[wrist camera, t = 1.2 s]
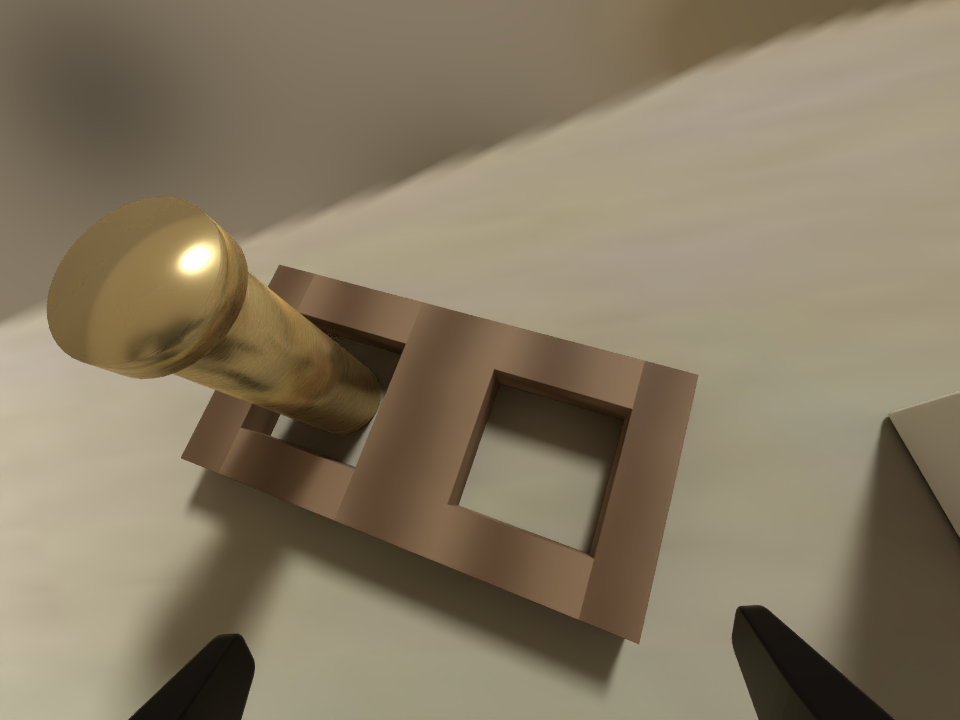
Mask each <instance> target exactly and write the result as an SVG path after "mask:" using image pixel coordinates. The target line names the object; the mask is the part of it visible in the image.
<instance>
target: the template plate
mask: <svg viewBox="0 0 960 720" xmlns="http://www.w3.org/2000/svg"><path fill="white" fill-rule="evenodd" d="M268 288H269V289H271V290H272V291H273V292H274V293H276V294H277V295H278V296H279V297H280V298H282V299H283V300H284V301H285V302H287V303H288V304H289V305H290V306H292V307H293V308H294V309H295V310H297V311H298V312H299V313H300V314H302V315H303V316H304V317H305V318H307V319H308V320H309V321H310V322H312V323H313V324H314V325H315V326H316V327H318V328H319V329H320V330H321V331H325V332H328V333H331V334H335V335H338V336H341V337H345V338H348V339H352V340H355V341H358V342H362V343H365V344H369V345H372V346H375V347H379V348H382V349H385V350H389V351H392V352H396V353H399V354H402V355H401V357H400V360H399V362H398V365H397V367H396V370H395V372H394V375H393V377H392V379H391V382H390V384H389V387H388V389H387V392H386V394H385V397H384V399H383V402H382V404H381V406H380V409H379V411H378V414H377V416H376V419H375V421H374V424H373V426H372V429H371V431H370V434H369V436H368V438H367V441H366V443H365V446H364V448H363V451H362V453H361V456H360V458H359V461H358V463H357V465H356V467H353V466H350V465H347V464H345V463H342V462H339V461H337V460H334V459H331V458H329V457H326V456H323V455H320V454H318V453H315V452H312V451H310V450H307V449H304V448H301V447H299V446H296V445H293V444H291V443H288V442H285V441H283V440H280V439H277V438H274V437H272V436H270V435H271V433H272V430H273V428H274V426H275V424H276V422H277V420H278V417H279V415H280V414H279V413H276V412H273V411H270V410H268V409H265V408H262V407H260V406H257V405H254V404H252V403H249V402H246V401H244V400H241V399H238V398H236V397H233V396H230V395H228V394H225V393H222V392H220V391H217V390H215V392H214V394H213V396H212V398H211V400H210V402H209V404H208V405H207V407H206V409H205V411H204V413H203V415H202V417H201V419H200V421H199V423H198V425H197V427H196V429H195V431H194V433H193V435H192V437H191V439H190V441H189V443H188V445H187V447H186V449H185V451H184V452H183V454H182V456H181V458H182V459H184V460H187V461H189V462H192V463H194V464H197V465H199V466H201V467H204V468H206V469H209V470H211V471H214V472H216V473H219V474H221V475H224V476H226V477H229V478H231V479H233V480H236V481H238V482H241V483H243V484H246V485H248V486H251V487H253V488H256V489H258V490H261V491H263V492H266V493H268V494H270V495H273V496H275V497H278V498H280V499H283V500H285V501H288V502H290V503H293V504H295V505H298V506H300V507H302V508H305V509H307V510H310V511H312V512H315V513H317V514H320V515H322V516H325V517H327V518H330V519H332V520H334V521H337V522H339V523H342V524H344V525H347V526H349V527H352V528H354V529H357V530H359V531H362V532H364V533H366V534H369V535H371V536H374V537H376V538H379V539H381V540H384V541H386V542H389V543H391V544H394V545H396V546H398V547H401V548H403V549H406V550H408V551H411V552H413V553H416V554H418V555H421V556H423V557H426V558H428V559H430V560H433V561H435V562H438V563H440V564H443V565H445V566H448V567H450V568H453V569H455V570H458V571H460V572H462V573H465V574H467V575H470V576H472V577H475V578H477V579H480V580H482V581H485V582H487V583H490V584H492V585H494V586H497V587H499V588H502V589H504V590H507V591H509V592H512V593H514V594H517V595H519V596H522V597H524V598H526V599H529V600H531V601H534V602H536V603H539V604H541V605H544V606H546V607H549V608H551V609H554V610H556V611H558V612H561V613H563V614H566V615H568V616H571V617H573V618H576V619H578V620H581V621H583V622H586V623H588V624H590V625H593V626H595V627H598V628H600V629H603V630H605V631H608V632H610V633H613V634H615V635H618V636H620V637H623V638H625V639H627V640H630V641H632V642H635V643H637V644H639V642H640V637H641V633H642V628H643V624H644V619H645V615H646V610H647V606H648V601H649V597H650V592H651V588H652V583H653V579H654V574H655V570H656V565H657V560H658V556H659V551H660V547H661V542H662V538H663V533H664V529H665V524H666V520H667V515H668V511H669V506H670V502H671V497H672V493H673V488H674V483H675V479H676V474H677V470H678V465H679V461H680V456H681V452H682V447H683V443H684V438H685V434H686V429H687V425H688V420H689V416H690V411H691V406H692V402H693V397H694V393H695V388H696V384H697V379H698V375H697V374H693V373H689V372H685V371H681V370H678V369H674V368H670V367H666V366H662V365H659V364H655V363H651V362H647V361H643V360H640V359H636V358H632V357H628V356H624V355H621V354H617V353H613V352H609V351H605V350H602V349H598V348H594V347H590V346H586V345H583V344H579V343H575V342H571V341H567V340H564V339H560V338H556V337H552V336H548V335H545V334H541V333H537V332H533V331H529V330H526V329H522V328H518V327H514V326H510V325H507V324H503V323H499V322H495V321H491V320H488V319H484V318H480V317H476V316H472V315H469V314H465V313H461V312H457V311H453V310H450V309H446V308H442V307H438V306H434V305H431V304H427V303H423V302H419V301H415V300H411V299H408V298H404V297H400V296H396V295H392V294H389V293H385V292H381V291H377V290H373V289H370V288H366V287H362V286H358V285H354V284H351V283H347V282H343V281H339V280H335V279H332V278H328V277H324V276H320V275H316V274H313V273H309V272H305V271H301V270H297V269H294V268H290V267H286V266H282V265H279V266H278V268H277V270H276V272H275V274H274V276H273V278H272V280H271V282H270V284H269V286H268ZM499 384H504V385H507V386H510V387H514V388H517V389H521V390H524V391H527V392H531V393H534V394H538V395H541V396H544V397H548V398H551V399H554V400H558V401H561V402H565V403H568V404H571V405H575V406H578V407H581V408H585V409H588V410H592V411H595V412H598V413H602V414H605V415H609V416H612V417H615V418H619V419H622V420H624V422H623V426H622V430H621V433H620V437H619V441H618V445H617V449H616V453H615V457H614V460H613V464H612V468H611V472H610V476H609V480H608V484H607V487H606V491H605V495H604V499H603V503H602V507H601V511H600V514H599V518H598V522H597V526H596V530H595V534H594V538H593V542H592V545H591V549H590V553H589V554H588V553H585V552H582V551H580V550H577V549H574V548H572V547H569V546H566V545H564V544H561V543H558V542H555V541H553V540H550V539H547V538H545V537H542V536H539V535H537V534H534V533H531V532H528V531H526V530H523V529H520V528H518V527H515V526H512V525H510V524H507V523H504V522H501V521H499V520H496V519H493V518H491V517H488V516H485V515H483V514H480V513H477V512H474V511H472V510H469V509H466V508H464V507H461V506H458V505H459V502H460V499H461V496H462V493H463V490H464V487H465V484H466V481H467V478H468V475H469V472H470V469H471V466H472V463H473V460H474V458H475V455H476V452H477V449H478V446H479V443H480V440H481V437H482V434H483V431H484V428H485V425H486V422H487V419H488V416H489V413H490V411H491V408H492V405H493V402H494V399H495V396H496V393H497V390H498V387H499Z"/></svg>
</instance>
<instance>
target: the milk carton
mask: <svg viewBox="0 0 960 720" xmlns="http://www.w3.org/2000/svg"><path fill="white" fill-rule="evenodd" d="M888 415H889V417H890V419H891V421H892V423H893V424H894V426H895V428H896V429H897V431H898V433H899V435H900V436H901V438H902V440H903V442H904V443H905V445H906V447H907V448H908V450H909V452H910V454H911V455H912V457H913V459H914V460H915V462H916V464H917V466H918V467H919V469H920V471H921V472H922V474H923V476H924V478H925V479H926V481H927V483H928V484H929V486H930V488H931V490H932V491H933V493H934V495H935V496H936V498H937V500H938V502H939V503H940V505H941V507H942V508H943V510H944V512H945V513H946V515H947V517H948V519H949V520H950V522H951V524H952V525H953V527H954V529H955V531H956V532H957V534H958V536H959V537H960V391H958V392H955V393H952V394H948V395H945V396H942V397H938V398H935V399H932V400H929V401H925V402H922V403H919V404H915V405H912V406H909V407H905V408H902V409H899V410H896V411H893V412H890V413H889V414H888Z"/></svg>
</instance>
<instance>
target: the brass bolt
mask: <svg viewBox="0 0 960 720" xmlns="http://www.w3.org/2000/svg"><path fill="white" fill-rule="evenodd" d="M47 319H48V324H49V328H50V331H51V333H52V336H53V338H54V340H55V341H56V343H57V344H58V346H59V347H60V348H61V349H62V350H63V351H64V352H65V353H67V354H68V355H69V356H71V357H72V358H74V359H77V360H79V361H81V362H84V363H87V364H90V365H93V366H96V367H99V368H102V369H105V370H108V371H111V372H114V373H117V374H120V375H124V376H127V377H131V378H139V379H151V378H158V377H164V376H167V375H170V374H174V375H177V376H179V377H182V378H185V379H188V380H190V381H193V382H196V383H198V384H201V385H204V386H206V387H209V388H212V389H214V390H217V391H220V392H222V393H225V394H228V395H230V396H233V397H236V398H238V399H241V400H244V401H246V402H249V403H252V404H254V405H257V406H260V407H262V408H265V409H268V410H270V411H273V412H276V413H279V414H281V415H284V416H287V417H289V418H292V419H295V420H297V421H300V422H303V423H305V424H308V425H311V426H313V427H316V428H319V429H321V430H324V431H327V432H329V433H333V434H339V435H341V434H349V433H353V432H355V431H357V430H359V429H361V428H363V427H364V426H365V425H366V424H367V423H368V422H369V421H370V420H371V419H372V418H373V416H374V415H375V413H376V411H377V409H378V407H379V403H380V398H381V389H380V385H379V382H378V379H377V377H376V376H375V374H374V373H373V372H372V371H371V370H370V369H369V368H367V367H366V366H365V365H364V364H362V363H361V362H360V361H359V360H357V359H356V358H355V357H354V356H352V355H351V354H350V353H349V352H348V351H346V350H345V349H344V348H343V347H341V346H340V345H339V344H338V343H336V342H335V341H334V340H333V339H331V338H330V337H329V336H328V335H326V334H325V333H324V332H323V331H321V330H320V329H319V328H318V327H316V326H315V325H314V324H313V323H312V322H310V321H309V320H308V319H307V318H305V317H304V316H303V315H302V314H300V313H299V312H298V311H297V310H295V309H294V308H293V307H292V306H290V305H289V304H288V303H287V302H285V301H284V300H283V299H282V298H280V297H279V296H278V295H277V294H276V293H274V292H273V291H272V290H271V289H269V288H268V287H267V286H266V285H264V284H263V283H262V282H261V281H259V280H258V279H257V278H256V277H254V276H253V275H252V274H251V273H249V272H248V269H247V263H246V259H245V256H244V254H243V251H242V249H241V248H240V246H239V245H238V243H237V242H236V241H235V240H234V238H233V237H232V236H231V235H229V234H228V233H227V232H226V231H225V230H224V229H223V228H221V227H220V226H219V225H218V224H217V223H216V222H215V221H213V220H212V219H211V218H210V217H209V216H208V215H207V214H205V213H204V212H203V211H202V210H201V209H199V208H198V207H196V206H195V205H193V204H191V203H189V202H187V201H184V200H181V199H176V198H170V197H157V198H148V199H143V200H139V201H136V202H133V203H130V204H127V205H125V206H123V207H120V208H118V209H116V210H114V211H112V212H111V213H109V214H107V215H106V216H104V217H103V218H101V219H100V220H98V221H97V222H96V223H95V224H93V225H92V226H91V227H90V228H89V229H87V230H86V231H85V232H84V233H83V234H82V235H81V236H80V237H79V238H78V239H77V241H76V242H75V243H74V244H73V245H72V246H71V248H70V249H69V250H68V252H67V253H66V255H65V256H64V258H63V260H62V261H61V263H60V264H59V266H58V268H57V271H56V273H55V275H54V277H53V280H52V283H51V286H50V290H49V295H48V301H47Z"/></svg>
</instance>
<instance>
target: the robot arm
mask: <svg viewBox="0 0 960 720" xmlns="http://www.w3.org/2000/svg"><path fill="white" fill-rule="evenodd" d="M732 644H733V649H734V652H735V655H736V658H737V660H738V663H739V666H740V669H741V672H742V674H743V677H744V680H745V683H746V686H747V688H748V691H749V694H750V697H751V700H752V702H753V705H754V708H755V711H756V714H757V716H758V719H759V720H894V719H893V718H892V717H891V716H890V715H889V714H888V713H886V712H885V711H884V710H883V709H882V708H881V707H880V706H878V705H877V704H876V703H875V702H874V701H873V700H872V699H870V698H869V697H868V696H867V695H866V694H865V693H863V692H862V691H861V690H860V689H859V688H858V687H857V686H855V685H854V684H853V683H852V682H851V681H850V680H849V679H847V678H846V677H845V676H844V675H843V674H842V673H841V672H839V671H838V670H837V669H836V668H835V667H834V666H832V665H831V664H830V663H829V662H828V661H827V660H826V659H824V658H823V657H822V656H821V655H820V654H819V653H818V652H816V651H815V650H814V649H813V648H812V647H811V646H810V645H808V644H807V643H806V642H805V641H804V640H803V639H801V638H800V637H799V636H798V635H797V634H796V633H795V632H793V631H792V630H791V629H790V628H789V627H788V626H787V625H785V624H784V623H783V622H782V621H781V620H780V619H779V618H777V617H776V616H775V615H774V614H773V613H772V612H770V611H769V610H768V609H767V608H765V607H763V606H761V605H749V606H739V607H738V608H737V610H736V613H735V620H734V626H733V632H732ZM254 671H255V662H254V659H253V656H252V654H251V652H250V650H249V648H248V646H247V644H246V642H245V640H244V638H243V637H242V636H241V635H240V634H222V635H219V636H217V637H215V638H214V639H212V640H211V641H210V642H209V643H208V644H207V645H206V646H205V647H204V648H203V649H202V650H201V651H200V652H199V653H198V654H197V655H195V656H194V657H193V658H192V659H191V660H190V661H189V662H188V663H187V664H186V665H185V666H184V667H183V668H182V669H181V670H180V671H179V672H178V673H177V674H176V675H175V676H173V677H172V678H171V679H170V680H169V681H168V682H167V683H166V684H165V685H164V686H163V687H162V688H161V689H160V690H159V691H158V692H157V693H156V694H155V695H154V696H152V697H151V698H150V699H149V700H148V701H147V702H146V703H145V704H144V705H143V706H142V707H141V708H140V709H139V710H138V711H137V712H136V713H135V714H134V715H133V716H131V717H130V718H129V719H128V720H241V719H242V715H243V712H244V708H245V705H246V701H247V698H248V694H249V691H250V687H251V683H252V680H253V676H254Z"/></svg>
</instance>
